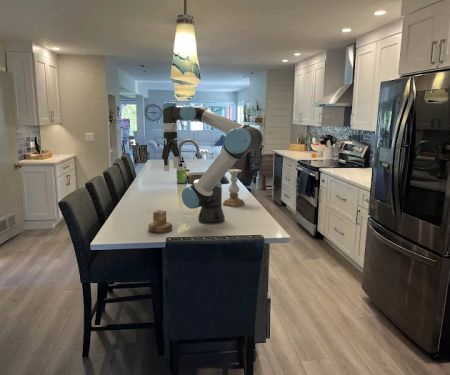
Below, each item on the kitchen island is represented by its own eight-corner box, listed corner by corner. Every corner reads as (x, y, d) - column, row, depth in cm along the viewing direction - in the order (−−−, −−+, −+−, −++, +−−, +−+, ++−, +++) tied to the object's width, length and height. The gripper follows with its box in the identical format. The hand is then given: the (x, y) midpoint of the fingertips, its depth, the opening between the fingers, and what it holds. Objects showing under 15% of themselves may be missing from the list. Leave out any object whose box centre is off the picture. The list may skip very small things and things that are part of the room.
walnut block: (166, 223, 196) (166, 210, 194) (162, 226, 191) (161, 213, 190) (158, 222, 197) (157, 210, 196) (153, 225, 192) (153, 212, 191)
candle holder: (231, 202, 258) (231, 168, 254) (244, 204, 252) (245, 169, 248) (222, 205, 250) (222, 170, 245) (236, 207, 243) (236, 171, 239)
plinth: (175, 227, 198) (175, 222, 198) (165, 234, 187) (165, 228, 186) (155, 225, 202) (155, 220, 201) (144, 232, 191) (144, 226, 190)
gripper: (172, 130, 216) (173, 166, 219) (154, 132, 192) (156, 172, 196) (184, 130, 214) (185, 167, 218) (167, 132, 190) (169, 172, 194)
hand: (171, 169), depth 207 cm, fingers open, 13 cm apart
